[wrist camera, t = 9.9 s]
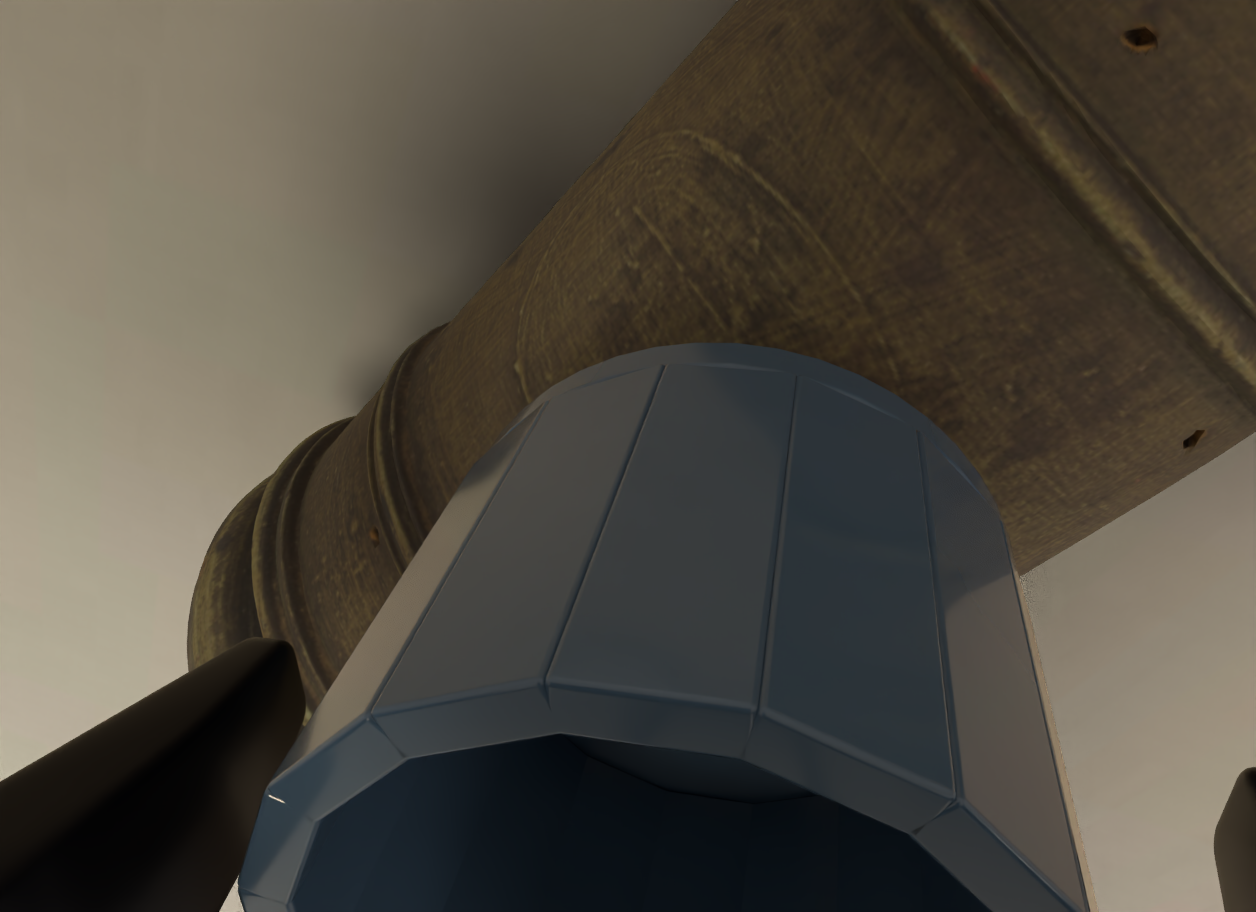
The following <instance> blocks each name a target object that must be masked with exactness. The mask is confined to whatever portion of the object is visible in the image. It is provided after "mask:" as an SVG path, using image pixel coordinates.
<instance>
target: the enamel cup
mask: <svg viewBox="0 0 1256 912" xmlns="http://www.w3.org/2000/svg"><path fill="white" fill-rule="evenodd" d="M238 885H239V887H238V894H239V897H240V900H241V903H242V906H243V909H244V912H1099V911H1098V907H1097V902H1096V898H1095V894H1094V890H1093V885H1092V881H1091V877H1090V872H1089V868H1088V864H1087V859H1086V855H1085V851H1084V846H1083V842H1082V838H1081V833H1080V829H1079V825H1078V820H1077V816H1076V812H1075V807H1074V803H1073V799H1072V795H1071V790H1070V786H1069V782H1068V777H1067V773H1066V769H1065V764H1064V760H1063V756H1062V751H1061V747H1060V743H1059V738H1058V734H1057V730H1056V725H1055V721H1054V717H1053V713H1052V708H1051V704H1050V700H1049V695H1048V691H1047V687H1046V682H1045V678H1044V674H1043V669H1042V665H1041V661H1040V656H1039V652H1038V648H1037V643H1036V639H1035V635H1034V630H1033V626H1032V622H1031V618H1030V613H1029V610H1028V607H1027V603H1026V600H1025V596H1024V593H1023V589H1022V586H1021V582H1020V579H1019V575H1018V572H1017V568H1016V563H1015V559H1014V554H1013V550H1012V546H1011V541H1010V537H1009V534H1008V531H1007V529H1006V526H1005V524H1004V521H1003V518H1002V516H1001V513H1000V510H999V508H998V505H997V503H996V501H995V500H994V498H993V496H992V494H991V493H990V491H989V489H988V487H987V486H986V484H985V482H984V481H983V479H982V477H981V475H980V474H979V472H978V471H977V470H976V469H975V467H974V466H973V465H972V464H971V462H970V461H969V460H968V459H967V457H966V456H965V455H964V453H963V452H962V451H961V450H960V448H959V447H958V446H957V445H956V444H955V443H954V442H953V441H952V440H951V439H950V438H949V437H948V436H947V435H946V434H945V433H944V432H943V431H942V430H940V429H939V428H938V427H937V426H936V425H935V424H934V423H933V422H932V421H931V420H930V419H929V418H928V417H926V416H925V415H923V414H922V413H921V412H919V411H918V410H916V409H915V408H914V407H912V406H911V405H910V404H908V403H907V402H905V401H904V400H903V399H901V398H900V397H898V396H897V395H896V394H894V393H892V392H890V391H888V390H886V389H885V388H883V387H881V386H879V385H877V384H875V383H874V382H872V381H870V380H868V379H866V378H864V377H862V376H861V375H859V374H856V373H854V372H851V371H849V370H846V369H843V368H841V367H838V366H836V365H833V364H831V363H828V362H826V361H823V360H820V359H817V358H813V357H809V356H806V355H802V354H798V353H794V352H790V351H786V350H782V349H778V348H771V347H763V346H756V345H748V344H741V343H687V344H678V345H669V346H660V347H653V348H649V349H645V350H641V351H637V352H632V353H628V354H624V355H620V356H616V357H614V358H611V359H608V360H606V361H603V362H601V363H598V364H596V365H593V366H590V367H588V368H585V369H583V370H581V371H579V372H577V373H575V374H573V375H572V376H570V377H568V378H566V379H564V380H563V381H561V382H559V383H557V384H555V385H554V386H552V387H550V388H549V389H548V390H546V391H545V392H544V393H542V394H541V395H540V396H538V397H537V398H536V399H535V400H533V401H532V402H531V403H529V404H528V405H527V406H525V407H524V408H523V409H522V410H521V411H520V412H519V413H518V414H517V415H516V416H515V417H514V418H513V420H512V421H511V422H510V423H509V424H508V425H507V426H506V427H505V428H504V429H503V430H502V431H501V432H500V434H499V435H498V437H497V438H496V440H495V441H494V443H493V444H492V445H491V447H490V448H489V450H488V451H487V453H486V454H484V455H483V456H482V457H481V458H480V459H479V460H478V461H476V462H475V463H474V464H473V466H472V467H471V469H470V470H469V471H468V473H467V475H466V476H465V478H464V479H463V481H462V482H461V484H460V486H459V487H458V489H457V490H456V492H455V493H454V495H453V496H452V498H451V500H450V501H449V503H448V504H447V506H446V507H445V509H444V510H443V512H442V514H441V515H440V517H439V518H438V520H437V521H436V523H435V524H434V526H433V528H432V529H431V531H430V532H429V534H428V535H427V537H426V539H425V540H424V542H423V543H422V545H421V546H420V548H419V549H418V551H417V553H416V554H415V556H414V557H413V559H412V560H411V562H410V563H409V565H408V567H407V568H406V570H405V571H404V573H403V574H402V576H401V577H400V579H399V581H398V582H397V584H396V585H395V587H394V588H393V590H392V591H391V593H390V595H389V596H388V598H387V599H386V601H385V602H384V604H383V606H382V607H381V609H380V610H379V612H378V613H377V615H376V616H375V618H374V620H373V621H372V623H371V624H370V626H369V627H368V629H367V630H366V632H365V634H364V635H363V637H362V638H361V640H360V641H359V643H358V644H357V646H356V648H355V649H354V651H353V652H352V654H351V655H350V657H349V659H348V660H347V662H346V663H345V665H344V666H343V668H342V669H341V671H340V673H339V674H338V676H337V677H336V679H335V680H334V682H333V683H332V685H331V687H330V688H329V690H328V691H327V693H326V694H325V696H324V697H323V699H322V701H321V702H320V704H319V705H318V707H317V708H316V710H315V712H314V713H313V715H312V716H311V718H310V719H309V721H308V722H307V724H306V726H305V727H304V729H303V730H302V732H301V733H300V735H299V736H298V738H297V740H296V741H295V743H294V744H293V746H292V747H291V749H290V750H289V752H288V754H287V755H286V757H285V758H284V760H283V761H282V763H281V764H280V766H279V768H278V769H277V771H276V772H275V774H274V775H273V777H272V779H271V780H270V782H269V783H268V785H267V786H266V788H265V790H264V793H263V796H262V800H261V803H260V806H259V810H258V813H257V817H256V820H255V823H254V827H253V830H252V833H251V837H250V840H249V843H248V847H247V850H246V854H245V857H244V860H243V864H242V867H241V870H240V874H239V877H238Z"/></svg>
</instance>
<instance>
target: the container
mask: <svg viewBox="0 0 1256 912" xmlns="http://www.w3.org/2000/svg"><path fill="white" fill-rule="evenodd" d="M687 343H741V344H748V345H756V346H763V347H771V348H778V349H782V350H786V351H790V352H794V353H798V354H802V355H806V356H809V357H813V358H817V359H820V360H823V361H826V362H828V363H831V364H833V365H836V366H838V367H841V368H843V369H846V370H849V371H851V372H854V373H856V374H859V375H861V376H862V377H864V378H866V379H868V380H870V381H872V382H874V383H875V384H877V385H879V386H881V387H883V388H885V389H886V390H888V391H890V392H892V393H894V394H896V395H897V396H898V397H900V398H901V399H903V400H904V401H905V402H907V403H908V404H910V405H911V406H912V407H914V408H915V409H916V410H918V411H919V412H921V413H922V414H923V415H925V416H926V417H928V418H929V419H930V420H931V421H932V422H933V423H934V424H935V425H936V426H937V427H938V428H939V429H940V430H942V431H943V432H944V433H945V434H946V435H947V436H948V437H949V438H950V439H951V440H952V441H953V442H954V443H955V444H956V445H957V446H958V447H959V448H960V450H961V451H962V452H963V453H964V455H965V456H966V457H967V459H968V460H969V461H970V462H971V464H972V465H973V466H974V467H975V469H976V470H977V471H978V472H979V474H980V475H981V477H982V479H983V481H984V482H985V484H986V486H987V487H988V489H989V491H990V493H991V494H992V496H993V498H994V500H995V501H996V503H997V505H998V508H999V510H1000V513H1001V516H1002V518H1003V521H1004V524H1005V526H1006V529H1007V531H1008V534H1009V537H1010V541H1011V546H1012V550H1013V554H1014V559H1015V563H1016V568H1017V572H1018V575H1019V577H1020V576H1021V575H1023V574H1025V573H1027V572H1028V571H1030V570H1032V569H1033V568H1035V567H1036V566H1038V565H1040V564H1042V563H1043V562H1045V561H1047V560H1048V559H1050V558H1052V557H1053V556H1055V555H1056V554H1058V553H1060V552H1062V551H1063V550H1065V549H1067V548H1068V547H1070V546H1072V545H1073V544H1075V543H1077V542H1078V541H1080V540H1082V539H1083V538H1085V537H1087V536H1088V535H1090V534H1092V533H1093V532H1095V531H1097V530H1098V529H1100V528H1102V527H1103V526H1105V525H1106V524H1108V523H1110V522H1111V521H1113V520H1115V519H1116V518H1118V517H1120V516H1121V515H1123V514H1125V513H1126V512H1128V511H1130V510H1131V509H1133V508H1135V507H1136V506H1138V505H1140V504H1141V503H1143V502H1145V501H1146V500H1148V499H1150V498H1151V497H1153V496H1155V495H1156V494H1158V493H1160V492H1161V491H1163V490H1165V489H1166V488H1168V487H1169V486H1171V485H1173V484H1174V483H1176V482H1177V481H1179V480H1181V479H1182V478H1184V477H1185V476H1187V475H1189V474H1190V473H1192V472H1193V471H1195V470H1197V469H1198V468H1200V467H1201V466H1203V465H1205V464H1206V463H1208V462H1209V461H1211V460H1213V459H1214V458H1216V457H1218V456H1219V455H1221V454H1222V453H1224V452H1225V451H1227V450H1228V449H1230V448H1231V447H1233V446H1234V445H1236V444H1237V443H1239V442H1240V441H1242V440H1243V439H1245V438H1246V437H1248V436H1249V435H1251V434H1252V433H1254V432H1255V431H1256V0H738V1H737V2H736V3H735V5H734V6H733V7H732V8H731V9H730V10H729V11H728V12H727V13H726V14H725V16H724V17H723V18H722V19H721V20H720V21H719V22H718V23H717V24H716V26H715V27H714V28H713V29H712V30H711V31H710V32H709V33H708V34H707V35H706V37H705V38H704V39H703V40H702V41H701V42H700V44H699V45H698V46H697V47H696V48H695V49H694V50H693V51H692V53H691V54H690V55H689V56H688V57H687V58H686V59H685V60H684V61H683V62H682V63H681V65H680V66H679V67H678V68H677V69H676V70H675V71H674V72H673V74H672V75H671V76H670V77H669V78H668V79H667V80H666V81H665V82H664V83H663V85H662V86H661V87H660V88H659V89H658V90H657V91H656V93H655V94H654V95H653V96H652V97H651V98H650V99H649V101H648V102H647V103H646V104H645V105H644V106H643V107H642V109H641V110H640V111H639V112H638V113H637V114H636V115H635V116H634V117H633V118H632V119H631V121H630V122H629V123H628V124H627V125H626V126H625V128H624V129H623V130H622V131H621V132H620V133H619V135H618V136H617V137H616V138H615V139H614V140H613V141H612V142H611V143H610V144H609V146H608V147H607V148H606V149H605V150H604V152H603V153H602V154H601V155H600V156H599V157H598V158H597V159H596V161H595V162H594V163H593V164H592V165H591V166H590V167H589V168H588V169H587V170H586V171H585V172H584V173H583V175H582V176H581V177H580V178H579V179H578V180H577V181H576V182H575V183H574V185H573V186H572V187H571V188H570V189H569V190H568V191H567V192H566V193H565V194H564V196H563V197H562V198H561V199H559V201H558V202H557V203H556V205H555V206H554V207H553V208H552V209H551V210H550V212H549V213H548V214H547V215H546V216H545V217H544V219H543V220H542V221H541V222H540V223H539V224H538V225H537V226H536V228H535V229H534V230H533V231H532V232H531V233H530V234H529V235H528V237H527V238H526V239H525V240H524V241H523V242H522V244H521V245H520V246H519V247H518V248H517V249H516V250H515V251H514V252H513V253H512V254H511V256H510V257H509V258H508V259H507V260H506V261H505V262H504V263H503V264H502V265H501V266H500V267H499V269H498V270H497V271H496V272H495V273H494V274H493V275H492V276H491V278H490V279H489V280H488V281H487V282H486V283H485V284H484V285H483V287H482V288H481V289H480V290H479V291H478V292H477V293H476V294H475V296H474V297H473V298H472V299H471V300H470V301H469V302H468V303H467V304H466V305H465V306H464V307H463V309H462V310H461V311H460V312H459V313H458V315H457V316H456V317H455V318H454V319H453V320H452V321H451V322H448V323H446V324H444V325H442V326H439V327H436V328H435V329H433V330H431V331H430V332H428V333H427V334H426V335H424V336H422V337H421V338H420V339H418V340H417V341H416V342H414V343H413V344H411V345H410V346H409V347H408V348H407V349H406V350H405V351H404V352H403V354H402V355H401V356H400V357H399V359H398V360H397V361H396V362H395V364H394V365H393V367H392V369H391V371H390V373H389V375H388V377H387V379H386V381H385V382H384V384H383V385H382V387H381V389H380V390H379V391H378V392H377V393H376V394H375V395H374V396H373V398H372V399H371V400H370V401H369V402H368V403H367V404H366V405H365V407H364V408H363V409H362V410H361V411H360V413H359V414H358V415H357V416H353V417H349V418H346V419H343V420H340V421H337V422H335V423H332V424H330V425H328V426H325V427H323V428H321V429H320V430H318V431H316V432H315V433H313V434H312V435H310V436H309V437H308V438H306V439H305V440H304V441H302V442H301V443H300V444H299V445H298V446H297V447H296V448H295V449H294V450H293V451H292V452H291V453H290V454H289V455H288V456H287V457H286V458H285V460H284V461H283V462H282V463H281V465H280V466H279V467H278V469H277V470H276V471H275V473H274V474H272V475H271V476H269V477H268V478H266V479H265V480H264V481H262V482H261V483H260V484H259V485H257V486H256V487H255V488H254V489H253V490H252V491H250V492H249V493H248V494H247V495H246V496H245V497H244V498H243V499H242V500H241V501H240V502H239V503H238V504H237V505H236V506H235V507H234V508H233V510H232V511H231V512H230V513H229V515H228V516H227V517H226V519H225V520H224V522H223V523H222V525H221V526H220V528H219V529H218V531H217V532H216V534H215V536H214V538H213V540H212V542H211V544H210V546H209V549H208V551H207V553H206V556H205V558H204V561H203V564H202V567H201V570H200V573H199V577H198V580H197V583H196V586H195V589H194V593H193V597H192V602H191V608H190V614H189V621H188V636H187V658H188V669H189V672H190V671H192V670H193V669H195V668H197V667H199V666H200V665H202V664H204V663H205V662H207V661H209V660H211V659H212V658H214V657H216V656H217V655H219V654H221V653H223V652H224V651H226V650H228V649H229V648H231V647H233V646H235V645H236V644H238V643H240V642H242V641H243V640H246V639H248V638H251V637H263V638H271V639H279V640H285V641H287V642H289V643H290V644H291V645H292V647H293V648H294V651H295V654H296V658H297V663H298V667H299V671H300V675H301V679H302V684H303V688H304V692H305V696H306V712H305V717H304V721H303V724H302V726H301V729H300V731H299V734H298V736H299V735H300V733H301V732H302V730H303V729H304V727H305V726H306V724H307V722H308V721H309V719H310V718H311V716H312V715H313V713H314V712H315V710H316V708H317V707H318V705H319V704H320V702H321V701H322V699H323V697H324V696H325V694H326V693H327V691H328V690H329V688H330V687H331V685H332V683H333V682H334V680H335V679H336V677H337V676H338V674H339V673H340V671H341V669H342V668H343V666H344V665H345V663H346V662H347V660H348V659H349V657H350V655H351V654H352V652H353V651H354V649H355V648H356V646H357V644H358V643H359V641H360V640H361V638H362V637H363V635H364V634H365V632H366V630H367V629H368V627H369V626H370V624H371V623H372V621H373V620H374V618H375V616H376V615H377V613H378V612H379V610H380V609H381V607H382V606H383V604H384V602H385V601H386V599H387V598H388V596H389V595H390V593H391V591H392V590H393V588H394V587H395V585H396V584H397V582H398V581H399V579H400V577H401V576H402V574H403V573H404V571H405V570H406V568H407V567H408V565H409V563H410V562H411V560H412V559H413V557H414V556H415V554H416V553H417V551H418V549H419V548H420V546H421V545H422V543H423V542H424V540H425V539H426V537H427V535H428V534H429V532H430V531H431V529H432V528H433V526H434V524H435V523H436V521H437V520H438V518H439V517H440V515H441V514H442V512H443V510H444V509H445V507H446V506H447V504H448V503H449V501H450V500H451V498H452V496H453V495H454V493H455V492H456V490H457V489H458V487H459V486H460V484H461V482H462V481H463V479H464V478H465V476H466V475H467V473H468V471H469V470H470V469H471V467H472V466H473V464H474V463H475V462H476V461H478V460H479V459H480V458H481V457H482V456H483V455H484V454H486V453H487V451H488V450H489V448H490V447H491V445H492V444H493V443H494V441H495V440H496V438H497V437H498V435H499V434H500V432H501V431H502V430H503V429H504V428H505V427H506V426H507V425H508V424H509V423H510V422H511V421H512V420H513V418H514V417H515V416H516V415H517V414H518V413H519V412H520V411H521V410H522V409H523V408H524V407H525V406H527V405H528V404H529V403H531V402H532V401H533V400H535V399H536V398H537V397H538V396H540V395H541V394H542V393H544V392H545V391H546V390H548V389H549V388H550V387H552V386H554V385H555V384H557V383H559V382H561V381H563V380H564V379H566V378H568V377H570V376H572V375H573V374H575V373H577V372H579V371H581V370H583V369H585V368H588V367H590V366H593V365H596V364H598V363H601V362H603V361H606V360H608V359H611V358H614V357H616V356H620V355H624V354H628V353H632V352H637V351H641V350H645V349H649V348H653V347H660V346H669V345H678V344H687ZM298 736H297V738H298ZM296 740H297V739H296Z"/></svg>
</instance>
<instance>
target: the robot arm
mask: <svg viewBox="0 0 1256 912" xmlns="http://www.w3.org/2000/svg"><path fill="white" fill-rule="evenodd" d="M305 712H306V696H305V692H304V688H303V684H302V679H301V675H300V671H299V667H298V663H297V658H296V654H295V651H294V648H293V647H292V645H291V644H290V643H289V642H287V641H285V640H279V639H271V638H263V637H251V638H248V639H246V640H243V641H242V642H240V643H238V644H236V645H235V646H233V647H231V648H229V649H228V650H226V651H224V652H223V653H221V654H219V655H217V656H216V657H214V658H212V659H211V660H209V661H207V662H205V663H204V664H202V665H200V666H199V667H197V668H195V669H193V670H192V671H190V672H188V673H186V674H185V675H183V676H181V677H180V678H178V679H176V680H174V681H173V682H171V683H169V684H168V685H166V686H164V687H162V688H161V689H159V690H157V691H155V692H154V693H152V694H150V695H149V696H147V697H145V698H143V699H142V700H140V701H138V702H137V703H135V704H133V705H131V706H130V707H128V708H126V709H124V710H123V711H121V712H119V713H118V714H116V715H114V716H112V717H111V718H109V719H107V720H106V721H104V722H102V723H100V724H99V725H97V726H95V727H94V728H92V729H90V730H88V731H87V732H85V733H83V734H81V735H80V736H78V737H76V738H75V739H73V740H71V741H69V742H68V743H66V744H64V745H63V746H61V747H59V748H57V749H56V750H54V751H52V752H50V753H49V754H47V755H45V756H44V757H42V758H40V759H38V760H37V761H35V762H33V763H32V764H30V765H28V766H26V767H25V768H23V769H21V770H19V771H18V772H16V773H14V774H13V775H11V776H9V777H7V778H6V779H4V780H2V781H1V782H0V912H219V911H220V909H221V907H222V905H223V903H224V901H225V900H226V898H227V896H228V894H229V892H230V890H231V888H232V887H233V885H234V883H235V881H236V879H237V877H238V875H239V873H240V870H241V867H242V864H243V860H244V857H245V854H246V850H247V847H248V843H249V840H250V837H251V833H252V830H253V827H254V823H255V820H256V817H257V813H258V810H259V806H260V803H261V800H262V796H263V793H264V790H265V788H266V786H267V785H268V783H269V782H270V780H271V779H272V777H273V775H274V774H275V772H276V771H277V769H278V768H279V766H280V764H281V763H282V761H283V760H284V758H285V757H286V755H287V754H288V752H289V750H290V749H291V747H292V746H293V744H294V743H295V741H296V739H297V736H298V734H299V731H300V729H301V726H302V724H303V721H304V717H305ZM1214 855H1215V861H1216V866H1217V872H1218V877H1219V883H1220V888H1221V893H1222V899H1223V904H1224V910H1225V912H1256V767H1252V768H1247V769H1245V770H1244V771H1243V772H1241V773H1240V775H1239V777H1238V778H1237V780H1236V783H1235V785H1234V787H1233V790H1232V792H1231V794H1230V797H1229V799H1228V801H1227V803H1226V806H1225V808H1224V810H1223V813H1222V815H1221V817H1220V820H1219V822H1218V824H1217V827H1216V830H1215V835H1214Z"/></svg>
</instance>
